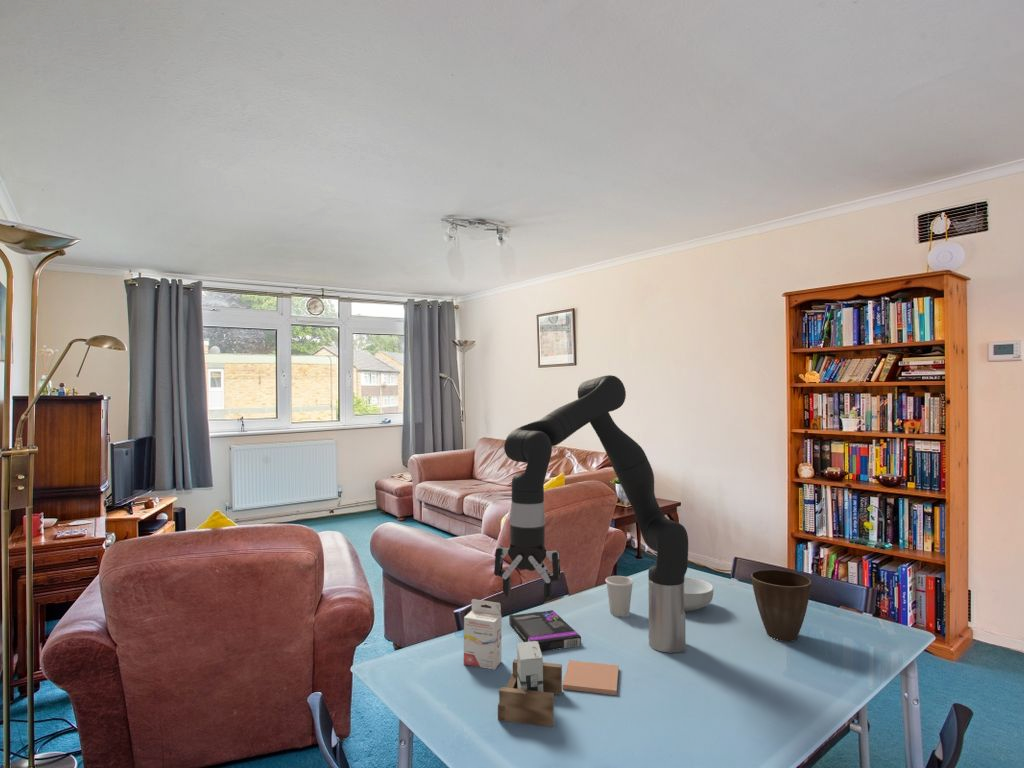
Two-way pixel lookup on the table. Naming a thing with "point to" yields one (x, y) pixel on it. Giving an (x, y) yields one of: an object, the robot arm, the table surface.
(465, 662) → the ink cartridge box
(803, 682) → the table surface
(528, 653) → the ink box
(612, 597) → the dixie cup
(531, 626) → the box
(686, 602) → the cereal bowl
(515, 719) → the walnut slot rack
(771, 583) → the plant pot
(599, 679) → the terracotta tile
